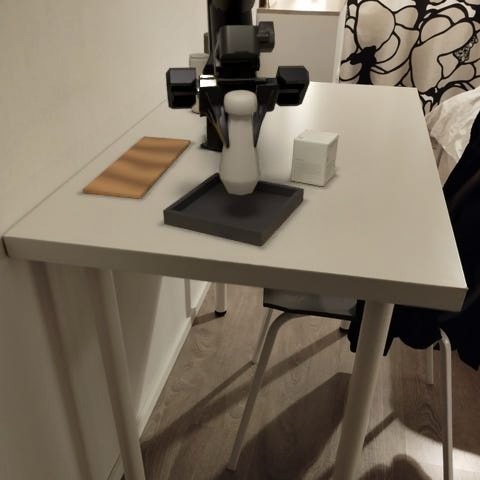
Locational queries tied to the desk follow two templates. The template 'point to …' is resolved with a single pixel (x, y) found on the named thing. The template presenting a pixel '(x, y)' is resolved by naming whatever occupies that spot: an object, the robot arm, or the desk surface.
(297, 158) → the product box
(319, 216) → the desk surface
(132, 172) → the wooden board
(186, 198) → the tray
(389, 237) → the desk surface
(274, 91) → the robot arm
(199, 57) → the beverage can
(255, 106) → the salt shaker
